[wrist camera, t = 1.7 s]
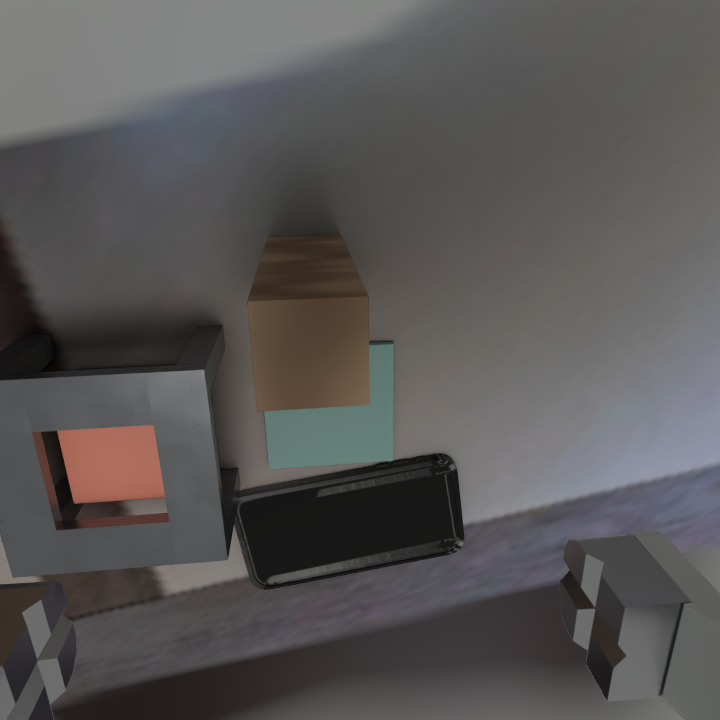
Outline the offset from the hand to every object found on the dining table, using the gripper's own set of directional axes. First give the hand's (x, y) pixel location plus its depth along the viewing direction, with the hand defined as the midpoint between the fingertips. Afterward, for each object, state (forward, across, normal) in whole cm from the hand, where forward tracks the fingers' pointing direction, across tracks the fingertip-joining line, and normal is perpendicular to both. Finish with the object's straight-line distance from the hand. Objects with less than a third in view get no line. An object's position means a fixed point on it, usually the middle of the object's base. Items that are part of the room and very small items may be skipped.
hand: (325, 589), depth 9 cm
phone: (+26, -2, +17) cm, 31 cm away
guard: (+25, +10, +8) cm, 28 cm away
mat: (+25, -1, +8) cm, 26 cm away
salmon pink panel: (+22, +11, +9) cm, 26 cm away
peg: (+25, 0, 0) cm, 25 cm away
